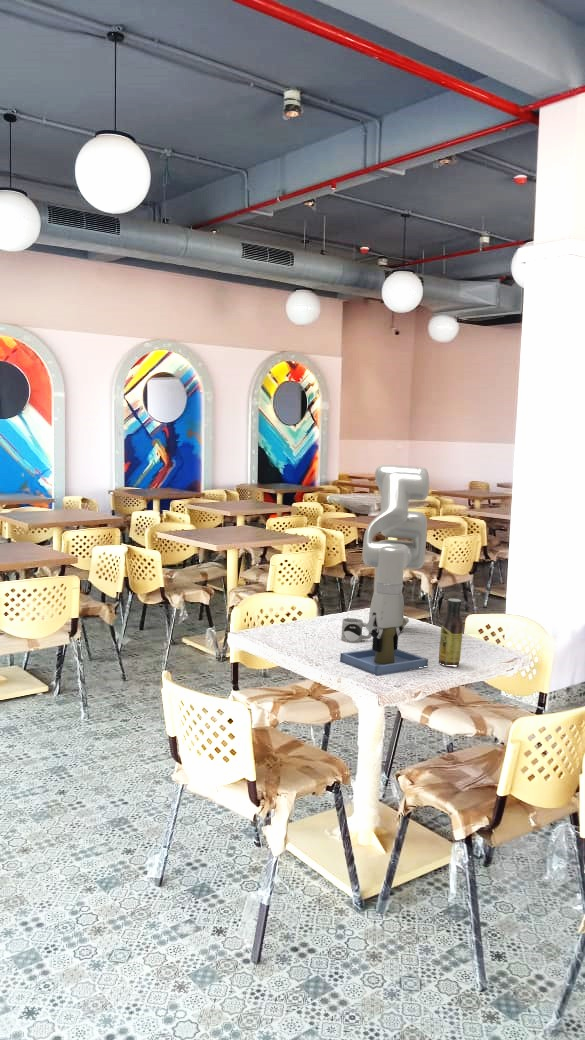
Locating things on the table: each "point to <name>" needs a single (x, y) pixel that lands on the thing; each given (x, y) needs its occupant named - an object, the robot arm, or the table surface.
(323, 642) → the table surface
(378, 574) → the robot arm
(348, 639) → the mug
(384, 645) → the cork
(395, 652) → the tray
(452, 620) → the sauce bottle
